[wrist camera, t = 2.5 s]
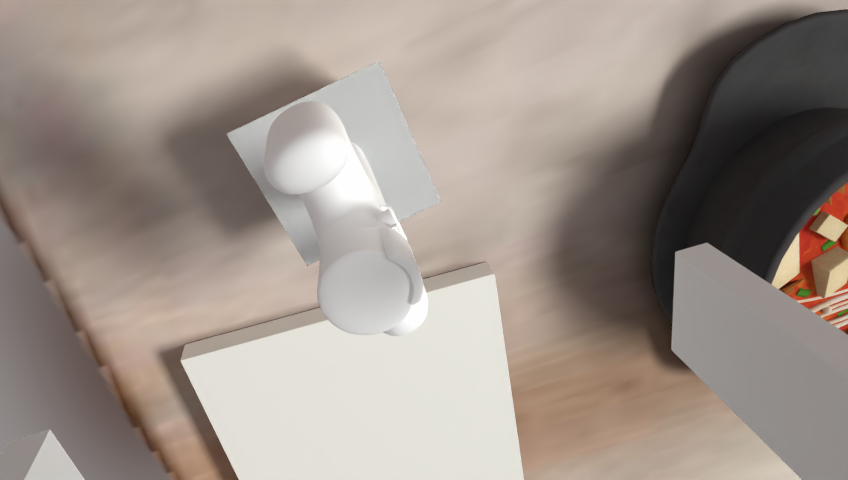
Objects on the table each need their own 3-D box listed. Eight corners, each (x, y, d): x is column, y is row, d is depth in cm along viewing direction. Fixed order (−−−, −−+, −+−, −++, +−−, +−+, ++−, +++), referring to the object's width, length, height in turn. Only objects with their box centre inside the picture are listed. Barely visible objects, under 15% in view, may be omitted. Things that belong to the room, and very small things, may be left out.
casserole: (852, 326, 44) (968, 398, 36) (633, 393, 41) (708, 484, 34) (931, -23, 32) (1124, -21, 25) (633, 45, 30) (747, 69, 23)
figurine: (314, 250, 31) (334, 458, 18) (221, 93, 26) (153, 213, 13) (432, 194, 31) (539, 358, 18) (358, 28, 27) (429, 82, 13)
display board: (522, 501, 44) (529, 518, 42) (295, 575, 42) (295, 595, 40) (486, 261, 34) (494, 273, 32) (184, 344, 32) (180, 360, 30)
